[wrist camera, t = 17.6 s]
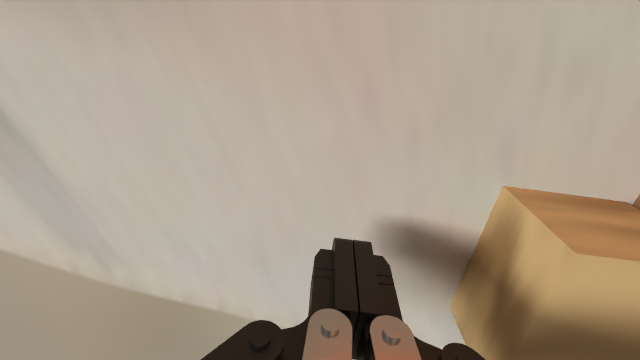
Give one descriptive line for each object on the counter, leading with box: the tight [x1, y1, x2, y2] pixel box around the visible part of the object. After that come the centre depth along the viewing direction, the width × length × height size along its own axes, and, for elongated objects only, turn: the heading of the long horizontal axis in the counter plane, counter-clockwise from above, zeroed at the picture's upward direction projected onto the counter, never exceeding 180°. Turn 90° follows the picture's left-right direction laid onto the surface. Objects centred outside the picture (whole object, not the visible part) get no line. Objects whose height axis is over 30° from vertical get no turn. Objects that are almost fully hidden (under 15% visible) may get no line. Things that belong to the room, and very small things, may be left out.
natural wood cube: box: [450, 186, 640, 360], centre depth 14 cm, size 8×6×5 cm
